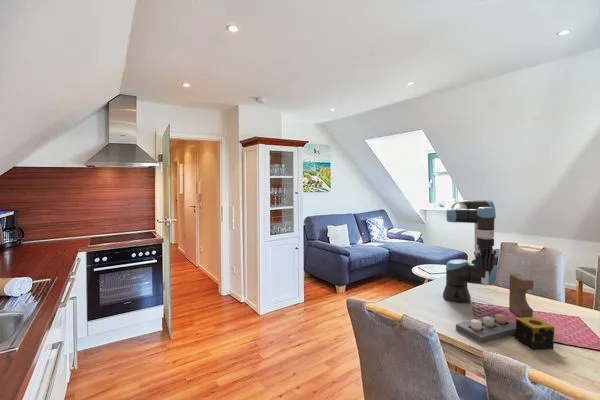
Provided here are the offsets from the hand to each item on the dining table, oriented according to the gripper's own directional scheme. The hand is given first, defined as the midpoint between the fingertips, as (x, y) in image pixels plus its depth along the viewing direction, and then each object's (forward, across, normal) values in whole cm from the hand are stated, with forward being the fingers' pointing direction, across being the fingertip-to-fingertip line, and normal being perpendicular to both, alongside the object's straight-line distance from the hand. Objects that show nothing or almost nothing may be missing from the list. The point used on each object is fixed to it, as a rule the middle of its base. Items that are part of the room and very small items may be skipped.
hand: (484, 283), depth 159 cm
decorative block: (+20, +24, -2) cm, 31 cm away
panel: (+19, -8, -9) cm, 23 cm away
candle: (+20, 0, -24) cm, 31 cm away
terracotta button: (+17, 0, -9) cm, 19 cm away
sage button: (+17, -8, -9) cm, 21 cm away
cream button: (+17, -16, -9) cm, 25 cm away
